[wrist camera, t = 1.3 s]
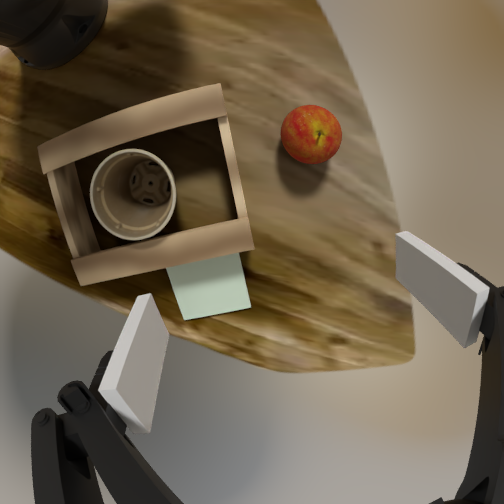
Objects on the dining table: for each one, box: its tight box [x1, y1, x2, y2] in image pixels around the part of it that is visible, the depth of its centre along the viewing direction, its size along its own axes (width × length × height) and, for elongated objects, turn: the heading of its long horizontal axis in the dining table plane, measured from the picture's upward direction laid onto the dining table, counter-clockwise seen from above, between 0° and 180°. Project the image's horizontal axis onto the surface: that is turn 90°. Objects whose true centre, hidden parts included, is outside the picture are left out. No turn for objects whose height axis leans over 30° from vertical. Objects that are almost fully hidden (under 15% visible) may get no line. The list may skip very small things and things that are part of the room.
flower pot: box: [90, 149, 176, 240], centre depth 32 cm, size 9×9×9 cm
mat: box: [166, 253, 251, 320], centre depth 41 cm, size 10×10×1 cm
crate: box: [37, 83, 254, 286], centre depth 32 cm, size 18×22×7 cm
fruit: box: [281, 105, 342, 164], centre depth 31 cm, size 7×7×8 cm
